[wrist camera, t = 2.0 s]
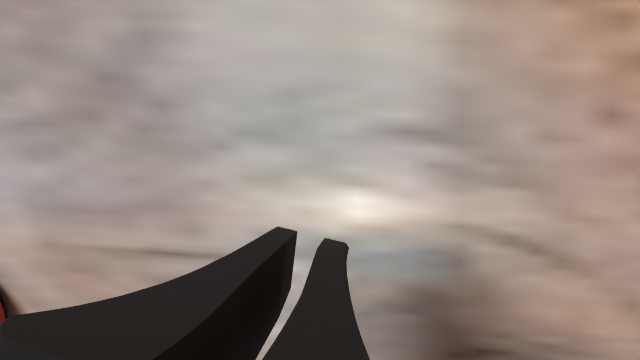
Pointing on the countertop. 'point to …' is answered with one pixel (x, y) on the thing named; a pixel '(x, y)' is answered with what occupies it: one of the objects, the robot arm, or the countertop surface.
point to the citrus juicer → (2, 314)
